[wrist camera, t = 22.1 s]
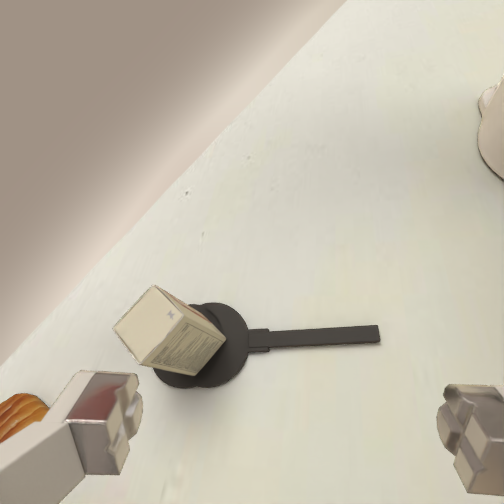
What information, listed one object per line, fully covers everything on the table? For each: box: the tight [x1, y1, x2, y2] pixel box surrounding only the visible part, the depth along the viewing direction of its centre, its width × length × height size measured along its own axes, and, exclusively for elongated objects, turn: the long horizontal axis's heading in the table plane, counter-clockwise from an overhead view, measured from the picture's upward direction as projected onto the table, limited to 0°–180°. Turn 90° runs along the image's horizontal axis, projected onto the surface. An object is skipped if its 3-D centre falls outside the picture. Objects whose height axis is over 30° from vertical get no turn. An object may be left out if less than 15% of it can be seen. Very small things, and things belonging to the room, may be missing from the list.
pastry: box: [0, 393, 49, 443], centre depth 34 cm, size 9×7×4 cm
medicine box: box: [113, 285, 226, 376], centre depth 31 cm, size 5×4×10 cm
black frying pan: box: [153, 303, 380, 388], centre depth 34 cm, size 24×9×1 cm, turn 90°
